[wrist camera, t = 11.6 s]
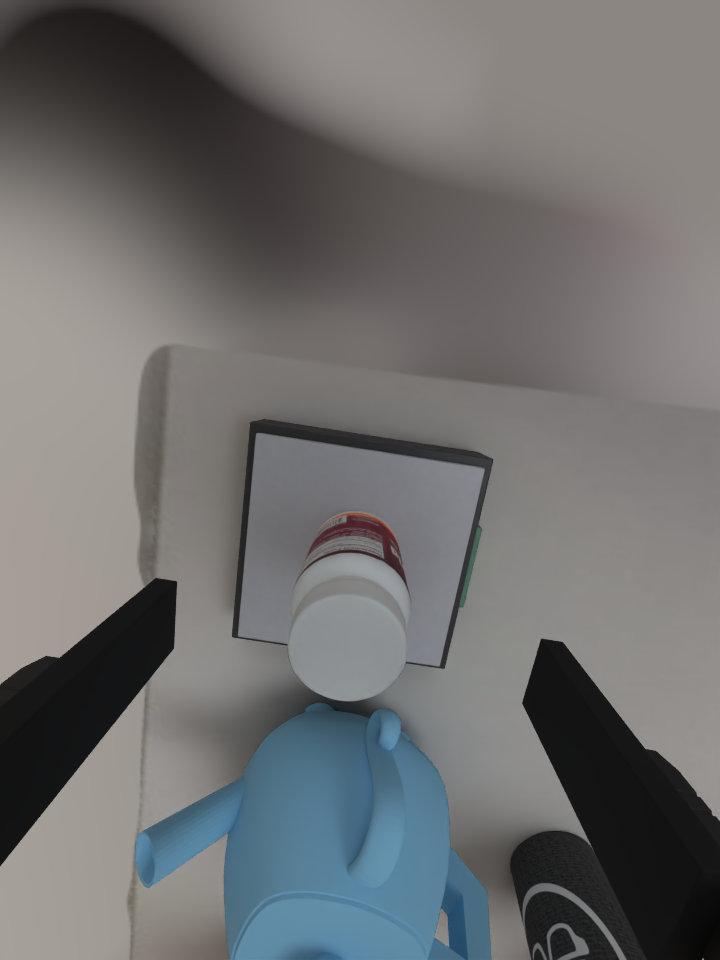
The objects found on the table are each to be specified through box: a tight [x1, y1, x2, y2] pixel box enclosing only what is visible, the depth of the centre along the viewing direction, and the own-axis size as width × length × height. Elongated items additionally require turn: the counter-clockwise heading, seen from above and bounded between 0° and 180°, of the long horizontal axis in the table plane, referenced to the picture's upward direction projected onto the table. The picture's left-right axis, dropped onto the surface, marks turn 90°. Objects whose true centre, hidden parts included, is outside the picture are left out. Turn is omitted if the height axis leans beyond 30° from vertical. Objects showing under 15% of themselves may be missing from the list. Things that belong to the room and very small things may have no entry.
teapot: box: [135, 703, 492, 960], centre depth 21 cm, size 20×17×12 cm
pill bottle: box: [287, 511, 412, 701], centre depth 16 cm, size 5×5×8 cm
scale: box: [232, 419, 493, 669], centre depth 22 cm, size 13×13×3 cm
